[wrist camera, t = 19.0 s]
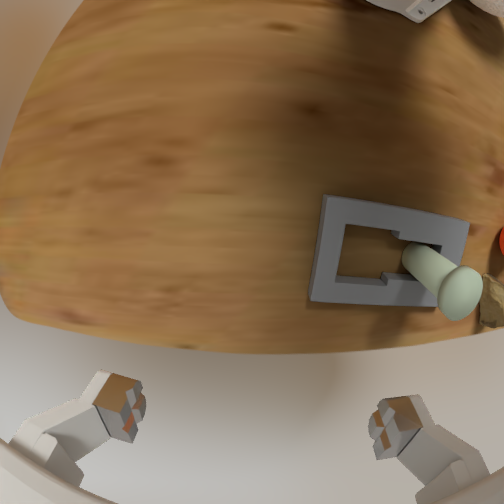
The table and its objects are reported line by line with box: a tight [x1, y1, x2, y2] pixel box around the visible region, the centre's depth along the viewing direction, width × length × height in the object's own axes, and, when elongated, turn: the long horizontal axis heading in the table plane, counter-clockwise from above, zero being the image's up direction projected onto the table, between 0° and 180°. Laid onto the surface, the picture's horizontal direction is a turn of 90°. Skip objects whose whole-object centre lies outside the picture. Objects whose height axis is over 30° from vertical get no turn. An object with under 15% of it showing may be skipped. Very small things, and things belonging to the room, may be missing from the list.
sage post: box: [402, 241, 483, 321], centre depth 28 cm, size 6×6×12 cm
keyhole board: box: [308, 194, 470, 307], centre depth 33 cm, size 22×13×2 cm, turn 85°
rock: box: [479, 273, 504, 328], centre depth 33 cm, size 10×8×10 cm
